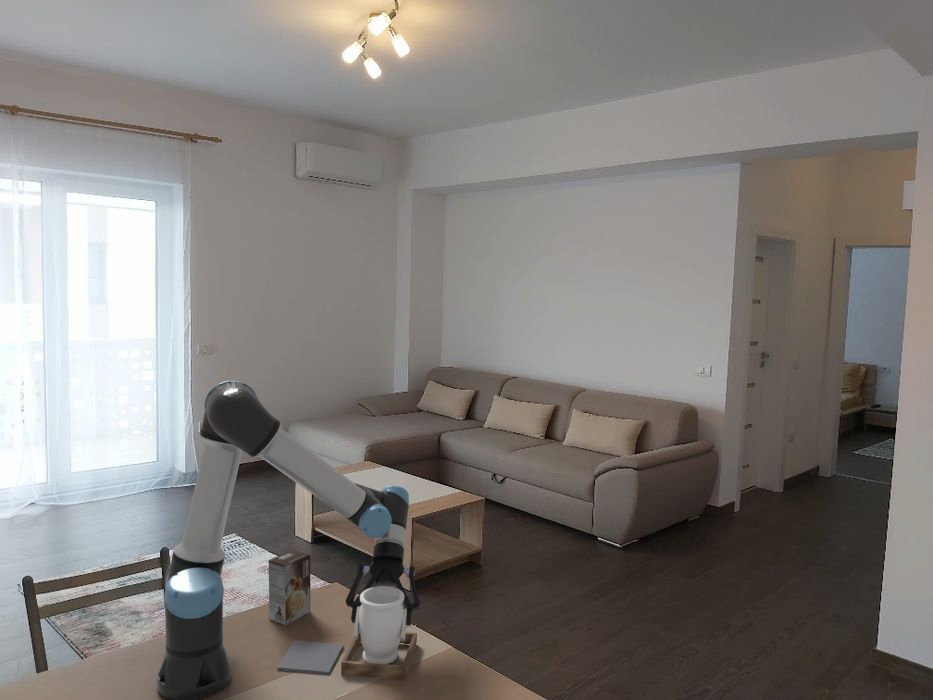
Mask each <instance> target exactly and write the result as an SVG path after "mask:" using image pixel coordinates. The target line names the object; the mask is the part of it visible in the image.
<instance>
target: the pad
mask: <svg viewBox="0 0 933 700" xmlns="http://www.w3.org/2000/svg"><path fill="white" fill-rule="evenodd" d="M342 648H343V649H344V644H341V643H331V642H328V643H327V642H318V641H306V640H294V642H293V643H292V645H291V646H290V648H289V649H288V651H287V652H286V654H285V655H284V657H283V658H282V660H281V661H280V662H279V664H278V666H277V667H276V669H277V671H284V670H287V671H286V672H294V673H295V672H296V673H310V674H319V675H321V674H322V675H330V674H331V672H332V670H333V668H334V666H335V664H336V662H337V660H338V659H339V656H340V655H341V653H342V651H343V649H342ZM340 652H341V653H340Z"/></svg>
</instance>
